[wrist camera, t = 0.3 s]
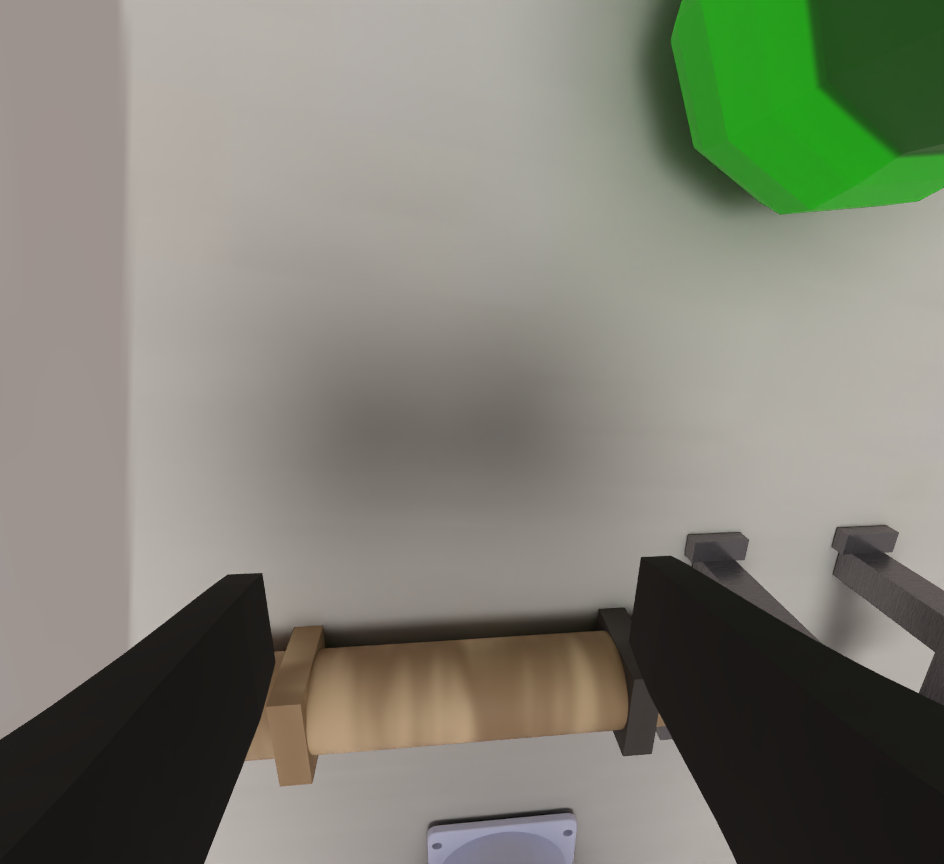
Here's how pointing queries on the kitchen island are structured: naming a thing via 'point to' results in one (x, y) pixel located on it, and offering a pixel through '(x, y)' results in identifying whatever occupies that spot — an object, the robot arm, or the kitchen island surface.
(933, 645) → the collar
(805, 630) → the collar
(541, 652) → the light wooden rod
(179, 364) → the kitchen island surface
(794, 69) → the plastic bottle
